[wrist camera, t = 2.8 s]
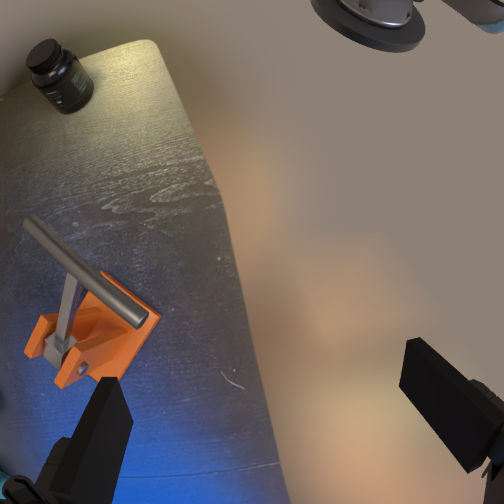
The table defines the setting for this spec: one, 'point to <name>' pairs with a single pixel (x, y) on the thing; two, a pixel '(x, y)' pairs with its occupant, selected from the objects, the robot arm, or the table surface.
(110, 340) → the orange pivot stand
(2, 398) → the table surface
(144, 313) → the switch
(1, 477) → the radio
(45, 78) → the supplement bottle
